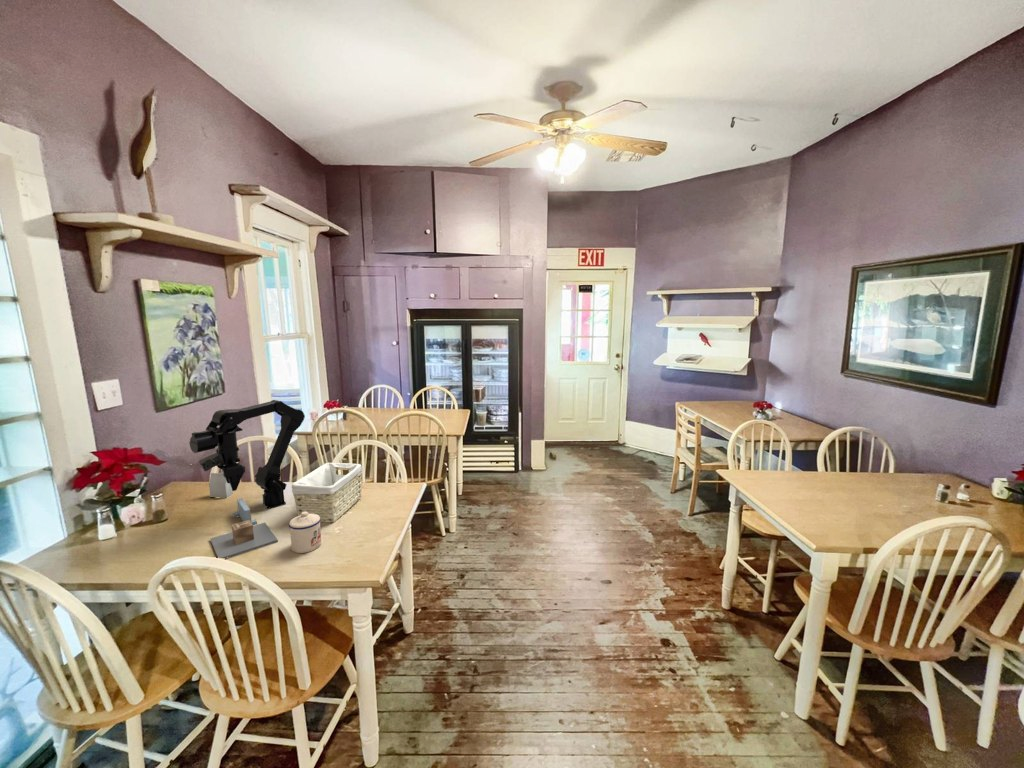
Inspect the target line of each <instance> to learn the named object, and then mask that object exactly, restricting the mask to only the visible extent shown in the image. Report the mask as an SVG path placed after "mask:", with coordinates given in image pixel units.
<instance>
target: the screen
mask: <svg viewBox="0 0 1024 768" xmlns="http://www.w3.org/2000/svg"><path fill="white" fill-rule="evenodd" d="M237 509H238V511H236V512H233V513H232V516H233V517H234V518H238V517H239V518H240V519H241V520H242V521H241V522H243V521H247V520H250V522H251V523H252V525H253V526H254V525H258V521H257V520H256V519H252V516H251V509H250V507H249V506H248V505H247V503H246V502H245V500H244V499H243V497H241V498H237Z"/></svg>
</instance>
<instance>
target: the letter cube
mask: <svg viewBox="0 0 1024 768" xmlns="http://www.w3.org/2000/svg"><path fill="white" fill-rule="evenodd" d="M253 526H254V525H252V523H251V522H250V520H247V521H240V522H236V523H233V524H231V530H232V531H231V532H232V533H233V540H234V542H235V543H236V545H237V544H241V543H244V542H247V541H250V540H253V539H254V533H253Z"/></svg>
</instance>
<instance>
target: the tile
mask: <svg viewBox="0 0 1024 768" xmlns="http://www.w3.org/2000/svg"><path fill="white" fill-rule="evenodd" d="M253 533H254V539H253V540H250V541H247V542H244V543H241V544H237V545H236V543H235V542H234V540H233V533H232V531H230V532H227V533H224V534H220V535H217V536H214V537H210V543H211V546H212V548H213V550H214V552H215V554H216V557H217V558H218V557H219V558H225V559H224V560H228V558H227V557H230V558H233V557H236V556H240V555H243V554H245V553H249V552H251V551H254V550H258V549H260V548H263V547H267V546H270V545H272V544H277V543H278V541H279V539H278V538H277V537H276V535H275V534H274V532H273V531H272V530H271V529H270V527H269V526H268V525H267V523H266V522H261V523H257V524H255V525H253Z"/></svg>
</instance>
